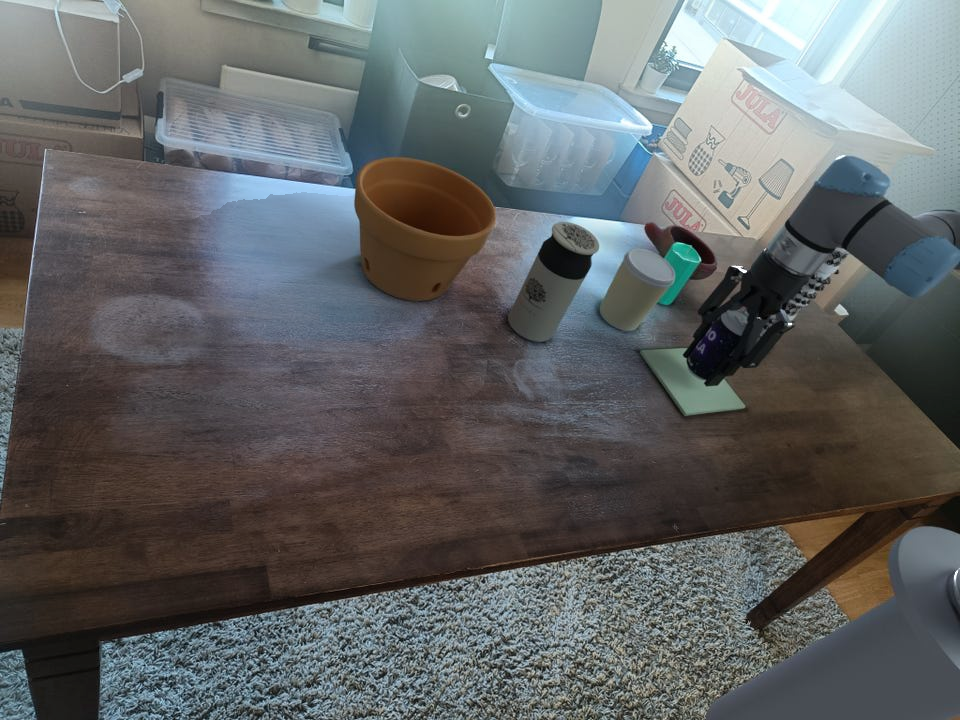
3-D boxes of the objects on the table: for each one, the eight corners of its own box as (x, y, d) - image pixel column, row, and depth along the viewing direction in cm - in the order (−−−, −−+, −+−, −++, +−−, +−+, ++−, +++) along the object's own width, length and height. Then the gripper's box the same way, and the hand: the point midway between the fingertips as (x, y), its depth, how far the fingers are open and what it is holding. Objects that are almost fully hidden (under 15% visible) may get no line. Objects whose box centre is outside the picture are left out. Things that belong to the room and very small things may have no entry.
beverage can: (702, 359, 108) (744, 307, 101) (720, 383, 105) (764, 332, 97) (677, 358, 106) (718, 306, 98) (694, 384, 102) (737, 331, 95)
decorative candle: (740, 314, 129) (823, 212, 113) (778, 343, 126) (868, 242, 109) (721, 327, 123) (806, 221, 107) (760, 358, 120) (853, 253, 103)
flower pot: (314, 243, 99) (329, 159, 90) (418, 225, 113) (441, 150, 103) (388, 330, 91) (413, 248, 81) (491, 300, 104) (523, 226, 95)
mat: (743, 408, 106) (746, 406, 106) (684, 416, 100) (686, 413, 99) (697, 349, 114) (699, 347, 114) (639, 352, 108) (641, 350, 107)
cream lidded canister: (647, 317, 116) (681, 267, 108) (634, 342, 109) (670, 290, 102) (603, 292, 118) (634, 240, 110) (588, 314, 111) (620, 261, 103)
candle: (648, 280, 126) (680, 231, 119) (675, 296, 126) (708, 247, 118) (641, 293, 122) (673, 243, 114) (668, 309, 121) (703, 260, 113)
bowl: (681, 252, 140) (701, 222, 135) (714, 290, 133) (736, 260, 128) (626, 249, 133) (644, 217, 127) (657, 289, 125) (679, 257, 120)
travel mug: (538, 308, 107) (583, 220, 95) (561, 341, 103) (611, 253, 91) (499, 310, 103) (541, 219, 91) (520, 345, 99) (568, 253, 87)
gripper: (732, 220, 94) (654, 331, 109) (816, 305, 83) (716, 415, 98) (765, 223, 97) (685, 330, 113) (850, 305, 86) (748, 411, 102)
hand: (699, 369), depth 105 cm, fingers closed on beverage can, 6 cm apart
